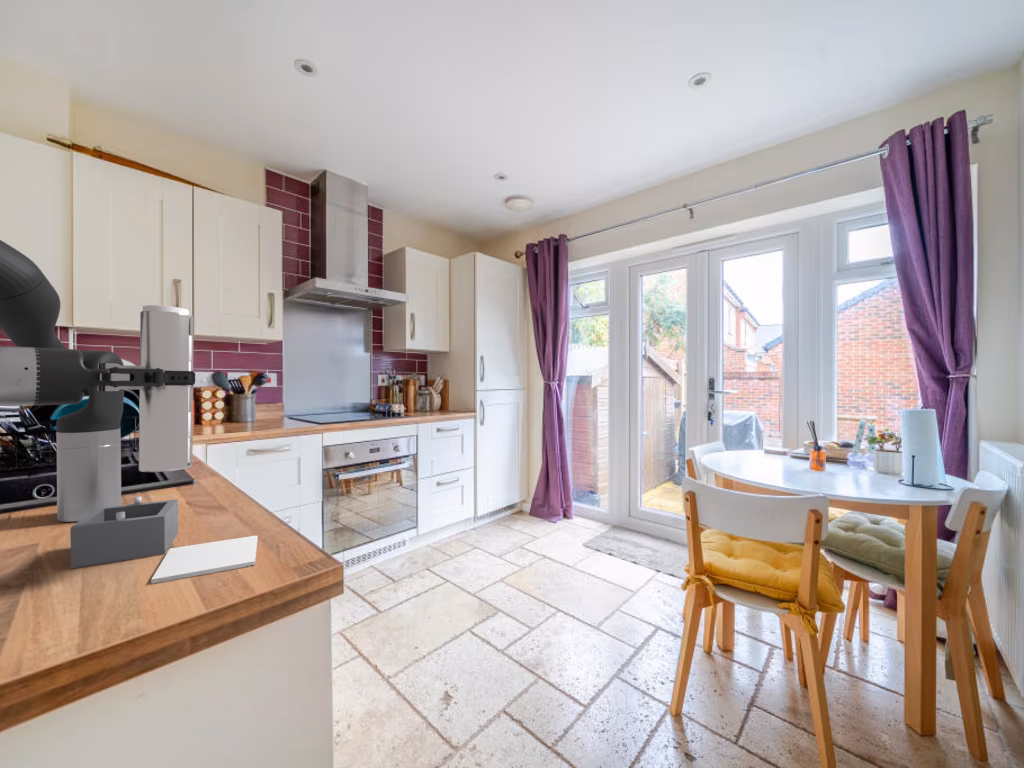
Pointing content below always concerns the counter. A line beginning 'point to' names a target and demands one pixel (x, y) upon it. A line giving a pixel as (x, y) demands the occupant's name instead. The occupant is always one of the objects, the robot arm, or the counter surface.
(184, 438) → the silver metal canister
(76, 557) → the housing collar
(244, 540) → the rubber mat
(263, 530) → the counter surface
